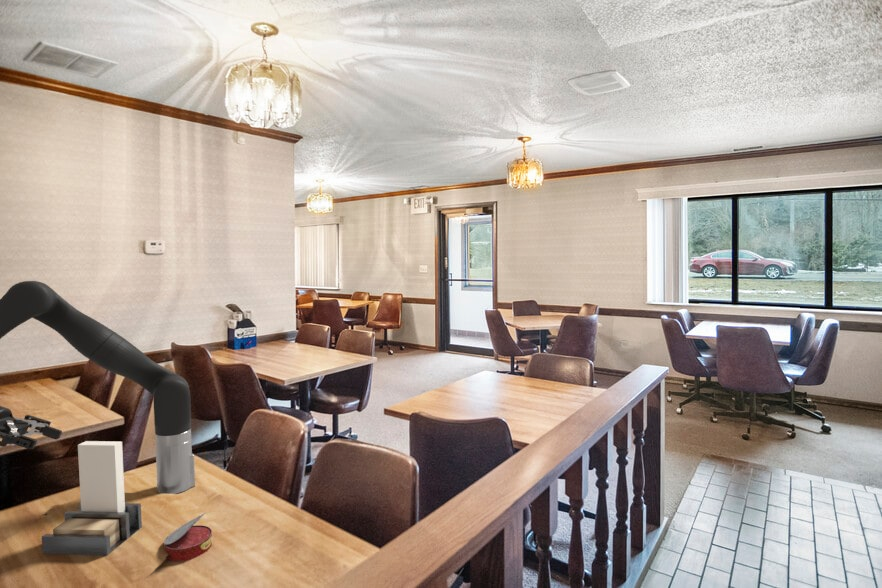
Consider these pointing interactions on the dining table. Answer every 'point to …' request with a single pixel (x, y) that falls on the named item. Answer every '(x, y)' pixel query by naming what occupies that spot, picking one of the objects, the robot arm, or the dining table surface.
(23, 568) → the dining table surface
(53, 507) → the shard
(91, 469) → the white rectangular board
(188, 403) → the robot arm
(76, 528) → the offcut top
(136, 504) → the rack
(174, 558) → the canned food
